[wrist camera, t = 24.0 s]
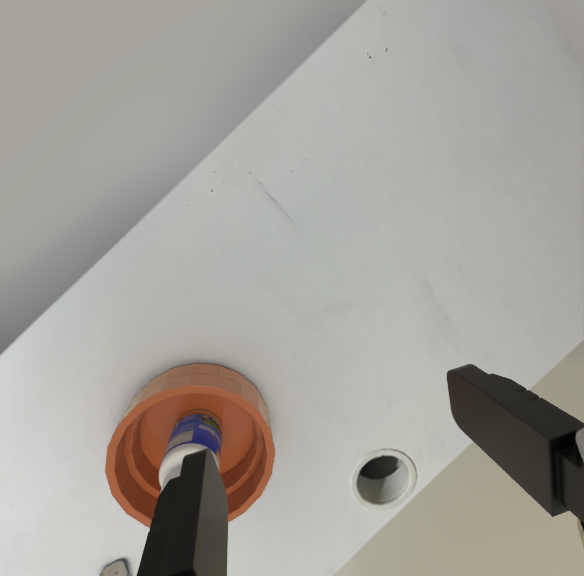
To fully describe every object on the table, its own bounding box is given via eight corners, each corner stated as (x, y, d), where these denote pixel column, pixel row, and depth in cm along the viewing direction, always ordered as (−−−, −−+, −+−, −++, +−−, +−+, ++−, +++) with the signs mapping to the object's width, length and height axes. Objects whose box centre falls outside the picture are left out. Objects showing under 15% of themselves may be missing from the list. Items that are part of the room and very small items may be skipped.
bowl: (120, 487, 37) (99, 534, 31) (132, 355, 35) (113, 379, 29) (258, 489, 40) (262, 532, 34) (277, 367, 38) (284, 391, 32)
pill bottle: (231, 436, 38) (230, 503, 28) (189, 461, 37) (174, 537, 28) (206, 399, 37) (196, 456, 27) (162, 424, 36) (137, 491, 27)
